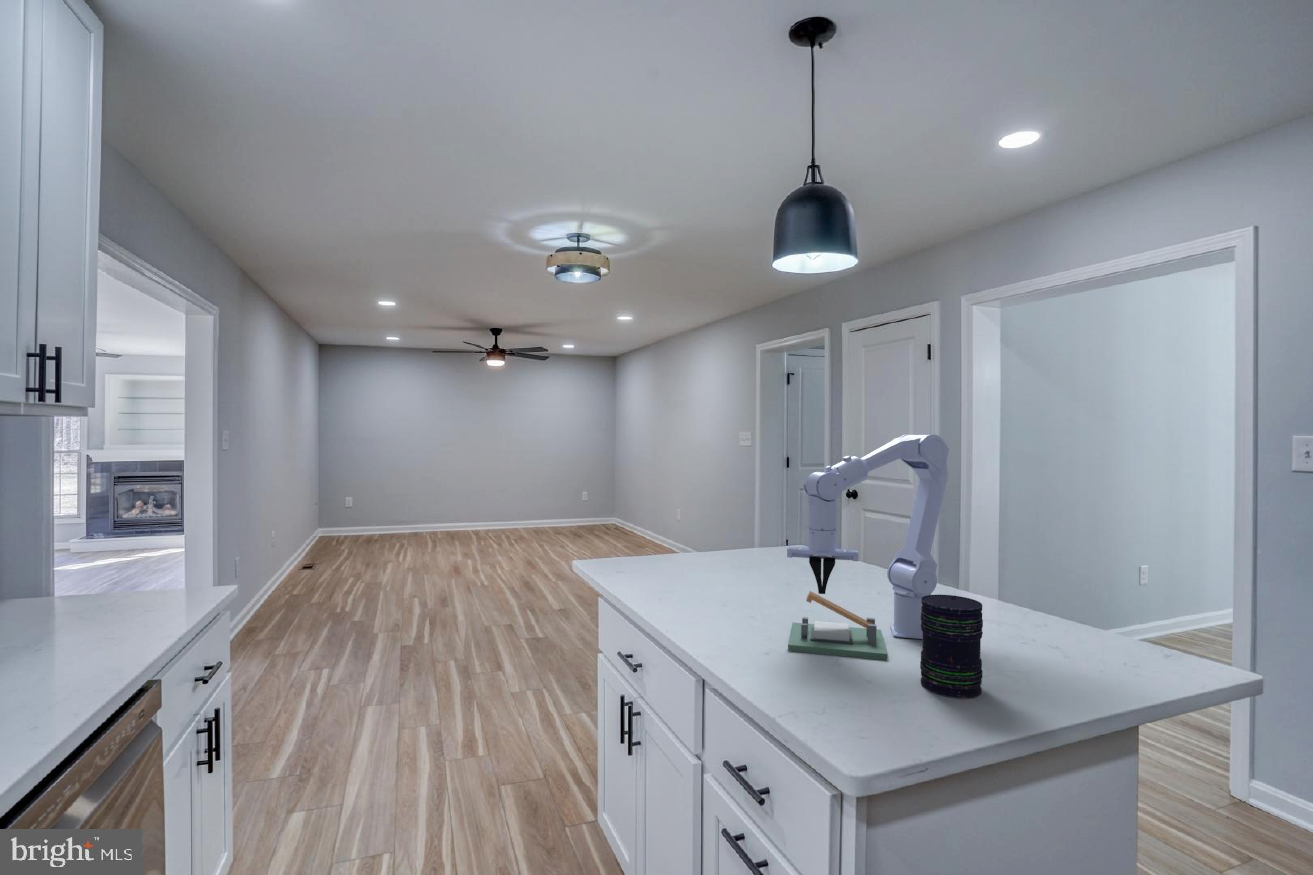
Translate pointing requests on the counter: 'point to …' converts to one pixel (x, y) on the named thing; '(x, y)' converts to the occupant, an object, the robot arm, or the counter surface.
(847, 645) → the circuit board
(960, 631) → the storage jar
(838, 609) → the hold-down strap
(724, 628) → the counter surface
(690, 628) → the counter surface
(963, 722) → the counter surface
